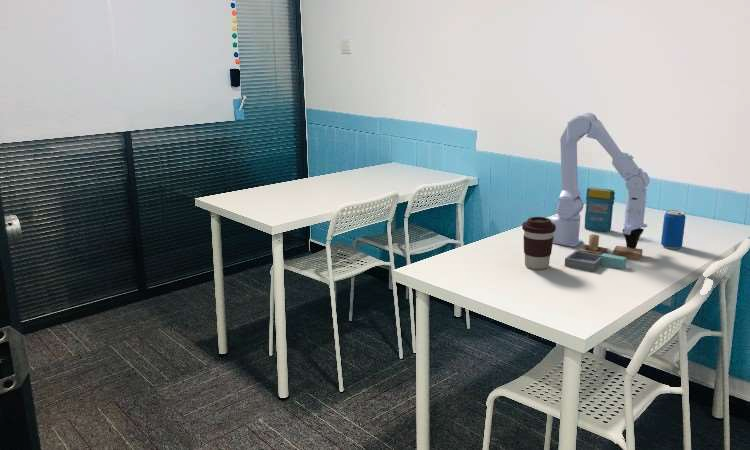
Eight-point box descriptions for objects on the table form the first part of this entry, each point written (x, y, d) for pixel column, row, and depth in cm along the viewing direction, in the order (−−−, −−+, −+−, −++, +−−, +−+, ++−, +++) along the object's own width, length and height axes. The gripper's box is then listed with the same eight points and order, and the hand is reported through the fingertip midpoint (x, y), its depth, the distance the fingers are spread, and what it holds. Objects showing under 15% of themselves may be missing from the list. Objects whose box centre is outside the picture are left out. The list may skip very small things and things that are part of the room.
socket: (577, 257, 209) (578, 250, 209) (585, 251, 215) (586, 244, 214) (599, 261, 205) (600, 254, 205) (607, 255, 211) (607, 248, 210)
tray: (564, 265, 202) (565, 258, 201) (575, 257, 209) (575, 250, 208) (593, 271, 197) (594, 263, 196) (603, 263, 204) (604, 255, 203)
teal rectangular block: (599, 264, 202) (600, 255, 202) (602, 262, 205) (603, 253, 204) (622, 269, 198) (623, 259, 198) (625, 266, 201) (626, 257, 200)
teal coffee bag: (612, 230, 238) (615, 190, 234) (609, 233, 234) (613, 192, 230) (585, 226, 243) (588, 187, 239) (582, 229, 239) (585, 189, 235)
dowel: (586, 256, 210) (587, 236, 208) (589, 254, 212) (591, 233, 210) (595, 258, 208) (597, 237, 206) (598, 256, 210) (600, 235, 208)
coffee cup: (554, 262, 205) (557, 216, 201) (551, 273, 196) (555, 225, 192) (522, 259, 208) (524, 214, 204) (518, 269, 199) (520, 222, 195)
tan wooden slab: (612, 257, 210) (613, 249, 209) (616, 252, 214) (616, 245, 213) (639, 261, 206) (639, 253, 205) (641, 256, 210) (642, 249, 209)
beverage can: (683, 250, 215) (688, 215, 211) (663, 249, 216) (667, 214, 213) (679, 244, 221) (683, 210, 217) (658, 243, 222) (662, 209, 219)
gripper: (641, 216, 201) (637, 258, 204) (654, 206, 212) (650, 246, 216) (618, 213, 205) (614, 254, 209) (632, 203, 216) (628, 243, 220)
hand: (631, 250), depth 212 cm, fingers closed
